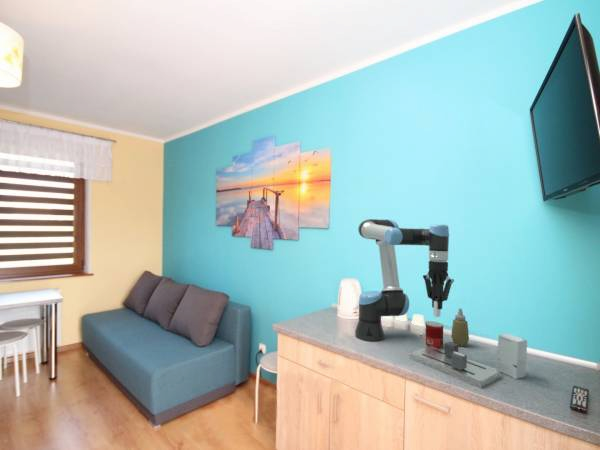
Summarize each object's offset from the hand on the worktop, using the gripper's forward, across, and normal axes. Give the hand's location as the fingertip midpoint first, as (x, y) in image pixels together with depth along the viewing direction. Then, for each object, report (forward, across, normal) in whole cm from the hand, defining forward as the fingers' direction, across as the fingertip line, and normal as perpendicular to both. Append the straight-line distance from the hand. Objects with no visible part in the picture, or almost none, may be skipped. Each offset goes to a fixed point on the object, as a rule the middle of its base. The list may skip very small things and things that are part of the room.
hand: (436, 316), depth 130 cm
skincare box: (+21, +21, +19) cm, 35 cm away
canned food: (+21, -13, +20) cm, 32 cm away
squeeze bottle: (+21, -7, +33) cm, 39 cm away
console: (+21, +5, +4) cm, 21 cm away
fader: (+18, +10, -1) cm, 20 cm away
